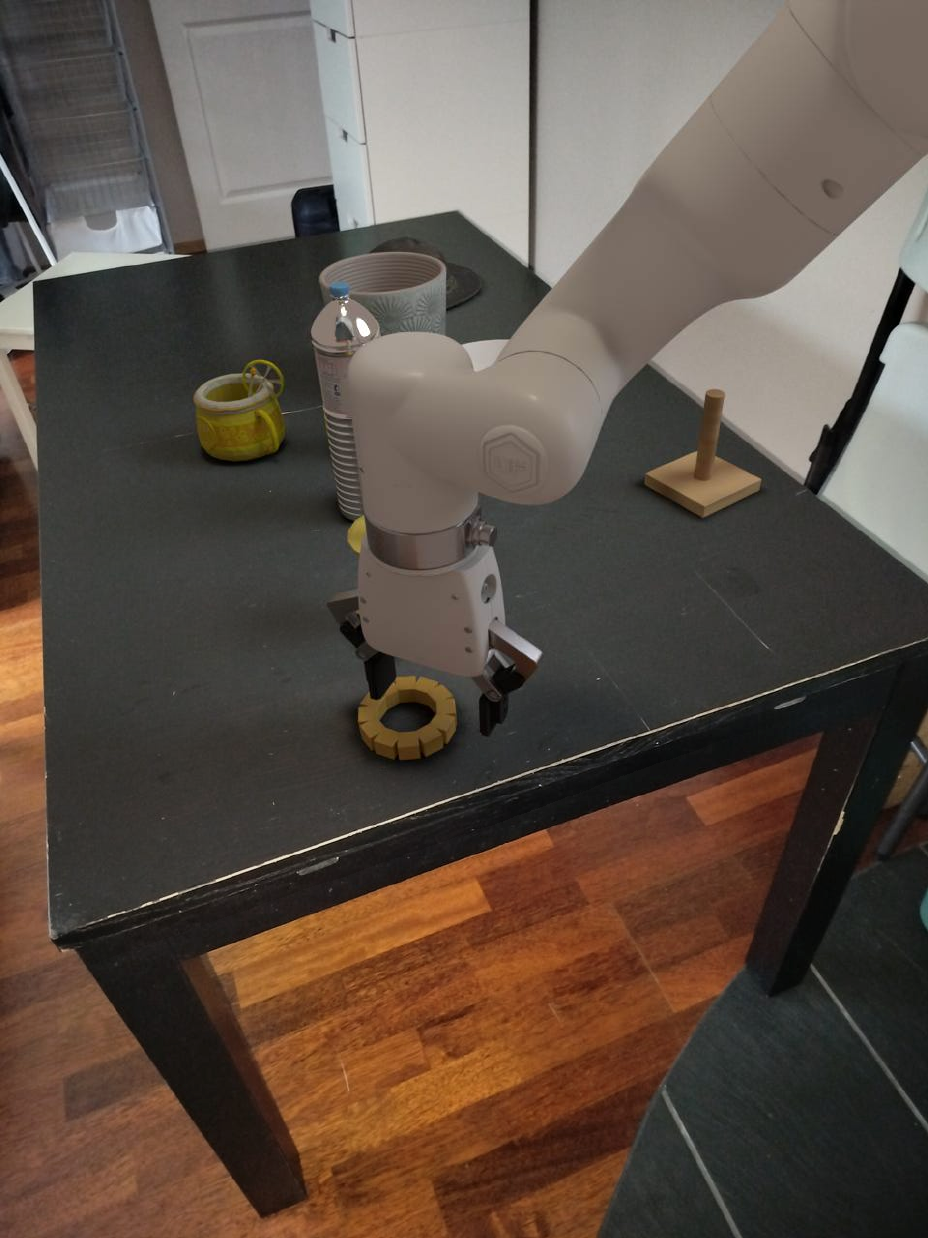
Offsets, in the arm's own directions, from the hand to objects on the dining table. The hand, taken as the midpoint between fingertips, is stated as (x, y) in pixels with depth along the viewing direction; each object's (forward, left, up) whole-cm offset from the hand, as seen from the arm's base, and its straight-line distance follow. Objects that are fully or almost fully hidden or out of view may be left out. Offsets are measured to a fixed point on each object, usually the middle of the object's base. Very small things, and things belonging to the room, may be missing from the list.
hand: (436, 705), depth 68 cm
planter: (+62, -33, -4) cm, 70 cm away
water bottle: (+34, -13, -4) cm, 36 cm away
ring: (+3, +1, -3) cm, 4 cm away
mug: (+56, -8, -4) cm, 56 cm away
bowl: (+39, -35, -4) cm, 52 cm away
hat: (+93, -54, -4) cm, 107 cm away
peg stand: (+14, -45, -3) cm, 47 cm away
